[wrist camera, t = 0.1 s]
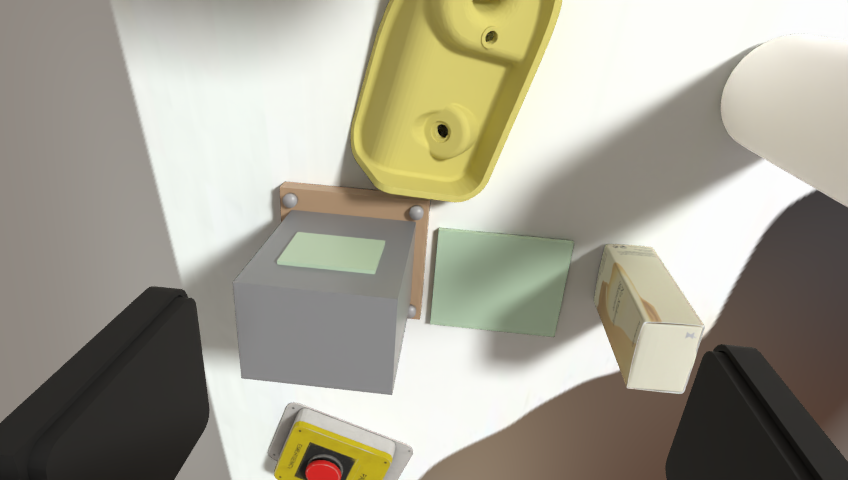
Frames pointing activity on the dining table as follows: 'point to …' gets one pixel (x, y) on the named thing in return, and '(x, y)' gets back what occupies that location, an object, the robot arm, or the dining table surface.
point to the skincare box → (646, 319)
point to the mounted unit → (333, 288)
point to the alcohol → (794, 108)
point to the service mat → (499, 281)
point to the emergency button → (333, 449)
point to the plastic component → (446, 92)
